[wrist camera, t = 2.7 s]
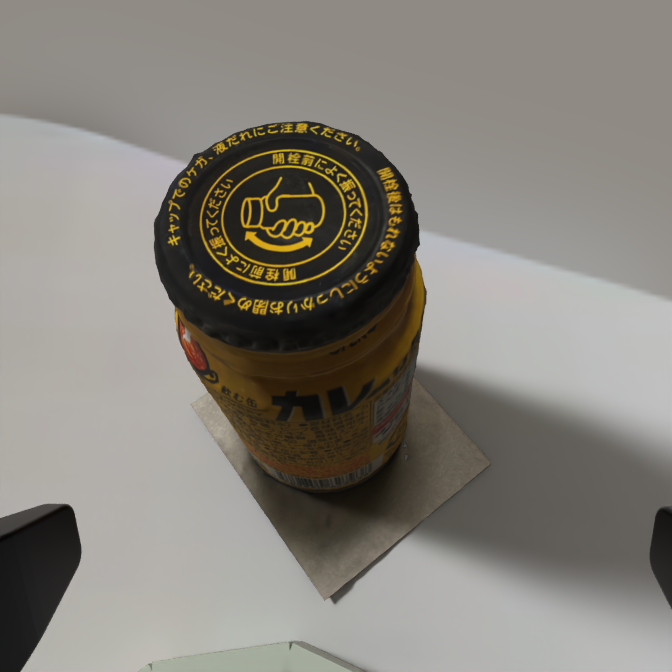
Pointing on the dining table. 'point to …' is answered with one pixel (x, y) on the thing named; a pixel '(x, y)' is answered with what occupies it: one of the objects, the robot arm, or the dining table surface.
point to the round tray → (257, 660)
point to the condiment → (311, 338)
